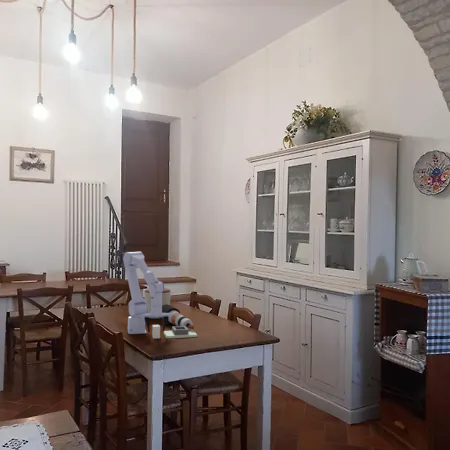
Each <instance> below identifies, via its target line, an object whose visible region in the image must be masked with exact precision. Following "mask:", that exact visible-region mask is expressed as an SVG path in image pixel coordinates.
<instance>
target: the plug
mask: <svg viewBox="0 0 450 450" xmlns="http://www.w3.org/2000/svg"><path fill="white" fill-rule="evenodd" d="M151 329H152V331H151V333H152V334H151V337H152V339H160V338H161V325H160V324H152V325H151Z"/></svg>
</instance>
